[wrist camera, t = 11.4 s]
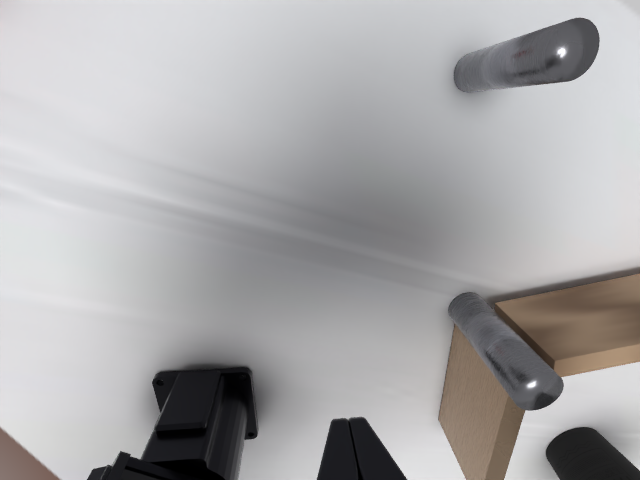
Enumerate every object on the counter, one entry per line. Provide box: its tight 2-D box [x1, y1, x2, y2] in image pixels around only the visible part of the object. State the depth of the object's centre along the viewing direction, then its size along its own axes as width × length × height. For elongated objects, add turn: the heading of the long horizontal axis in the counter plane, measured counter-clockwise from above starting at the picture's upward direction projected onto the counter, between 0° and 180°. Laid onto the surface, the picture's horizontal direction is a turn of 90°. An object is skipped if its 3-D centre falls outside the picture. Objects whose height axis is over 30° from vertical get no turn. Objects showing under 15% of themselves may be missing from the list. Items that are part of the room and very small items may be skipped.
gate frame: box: [438, 18, 599, 480], centre depth 18 cm, size 26×4×7 cm, turn 1°
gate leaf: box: [495, 274, 640, 377], centre depth 19 cm, size 12×1×5 cm, turn 101°
